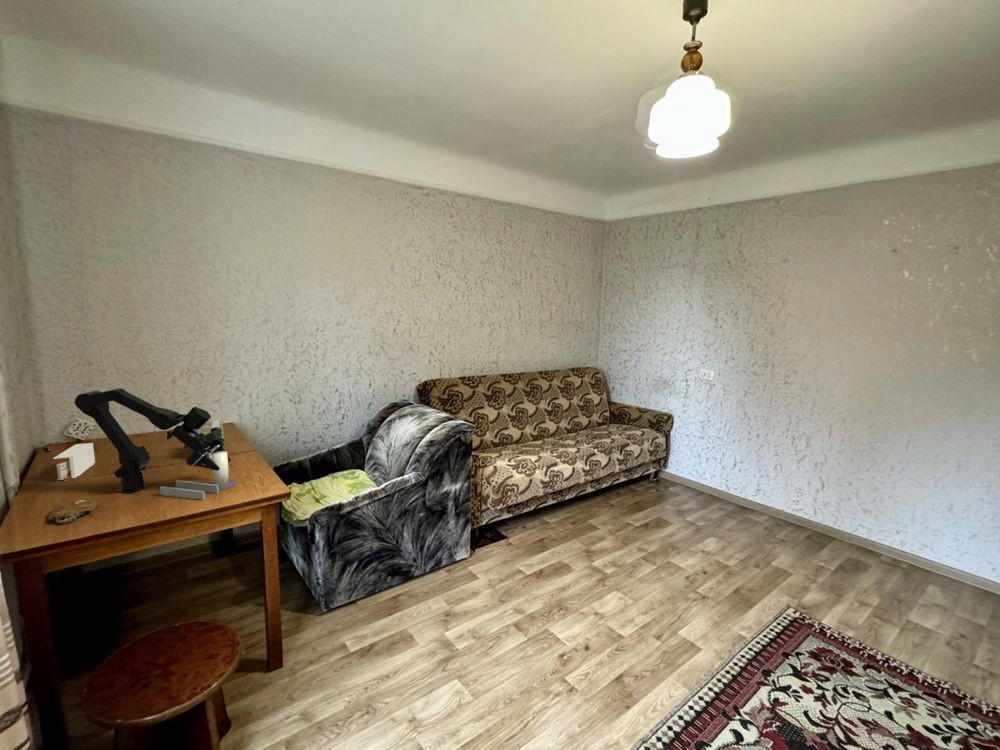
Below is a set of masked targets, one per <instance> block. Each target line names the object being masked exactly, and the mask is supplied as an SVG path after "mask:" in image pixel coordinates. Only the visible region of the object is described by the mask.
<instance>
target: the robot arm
mask: <svg viewBox="0 0 1000 750" xmlns="http://www.w3.org/2000/svg"><path fill="white" fill-rule="evenodd" d="M73 402H74V405H75V407H76V408H77V409H79V410H80V411H81V413H83V414H85V415H87V416H88V417H90V418H91V419H93V420H94V421H95V422H96V424H97V425H98V427H99V428H100V429H101V431H102V432H103V433H104V435H105V436H106V438H107V439H108V440H109V441H110V443H111V444H112V446H113V447H114V449H116V451H117V452H118V453H117V455H118V462H119V464H120V467H119V468H118V469H116V470H115V472H114V476H115V478H117V479H120V485H121V488H120V489H118V490H117V491H116V492H117V493H123V494H133V493H137V492H139V491H141V490H144V489H146V488H149V486H148V485H146V484H145V481H144V479H145V478H144V476H143V472H142V471H144V470H146V467H147V466H148V465H149V463H150V461H151V457H150V455H151V453H150V452H148V450H147V449H146V447H145V446H144V445H140V446H137V445H135V444H134V442H133V441H132V440H131V439H130V437H129V436H128V435H127V433H126V432H125V430H124V429H123V428H122V426H121V425H120V423H118V421H117V419H116V418H115V417H114V415H113V414H112V413H111V411H110V402H115V403H117V404H119V405H121V406H123V407H125V408H126V409H128V410H131V411H133V412H135V413H137V414H139V415H141V416H142V417H144V418H147V420H148V421H149V423H151V424H152V425H153V426H154V427H155V428H157V429H159V430H161V431H166V430H167V431H166V440H171V439H172V438H175V439H177V440H178V441H179V442H180V443H182V444H183V445H184V446H183V448H184V449H185V450H186V449H189V450H190V451H192V453H191V454H190V455H189V456H188V457H187V458H186V459H185V463H186V464H187V465H188V466H189V467H192V466H193V467H198V468H205V469H209V470H212V471H213V470H216V471H218V470H219V469H220V468H219V467H218V465H217V464H216V463H215V462H214V461H212V459H210V457H209V453H211V452H212V453H214V452H219V451H226V449H225V441H226V440H225V438H224V434H223V435H222V433H221V432H222V430H220V428H217V427H214V428H212V429H211V432H210V433H208V434H206V435H205V434H204V433H200V434H199V433H197V432H196V429H200V428H201V427H202V426H203V425H204V424H205V423H206V422H207V421H210V420H211V418H212V416H211V414H210V413H209V412H208V410H205V409H203V408H200V407H198V406H193V407H192V408H191V409H190V410H189V411H188V412H187V413H186V414H183V413H178V412H177V411H174V410H173V409H172V410H171V409H168V408H164V407H159V406H156V405H154V404H151V403H149V402H148V401H147V400H144V399H142V398H140V397H138V396H137V395H134V394H132V393H130V392H128V391H126V390H125V389H124V388H119V387H118V388H115V389H109V390H106V391H99V390H91V391H88V392H84V393H80V394H78V395H77V396H76V397H75V400H74V401H73ZM171 428H173V429H172V430H171ZM169 429H170V430H169ZM221 436H223V438H224V439H223V438H222V437H221ZM207 452H208V453H207ZM205 453H206V454H205ZM212 453H211V454H210V455H212ZM227 456H228V463H230V462H231V458H230V456H229V455H228V454H227Z"/></svg>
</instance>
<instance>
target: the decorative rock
mask: <svg viewBox="0 0 1000 750" xmlns="http://www.w3.org/2000/svg"><path fill="white" fill-rule="evenodd" d="M97 505H98V500H97V499H80V500H79V499H78V500H71V501H67V502H66V501H65V502H62V503H58V504H56V505H55V507H54V508H53V509H51V510H50V515H49V516H48V520H52V521H53V520H54V519H55V522H56V523H58V524H60V523H65V524H68V523H67V522H69V523H72V522H74V521H76V520H77V518H78V517H81V516H84V515H85V514H87V513H88V511H92V510H95V509H96V506H97Z"/></svg>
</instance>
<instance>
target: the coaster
mask: <svg viewBox="0 0 1000 750" xmlns="http://www.w3.org/2000/svg"><path fill="white" fill-rule="evenodd" d="M211 484H214V482H213V483H211ZM235 484H237V482H236V481H235V480H230V479H229V485H227V486H225V487H219V491H224V490H223V489H225V490H228V489H231V488H233V487H235V486H236V485H235ZM234 485H235V486H234ZM232 486H233V487H232ZM230 487H231V488H230ZM227 488H228V489H227Z"/></svg>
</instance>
